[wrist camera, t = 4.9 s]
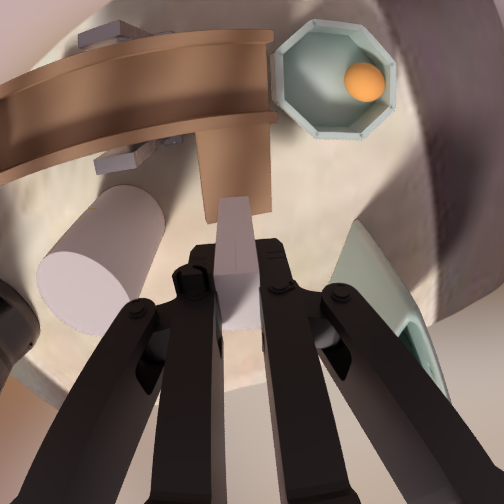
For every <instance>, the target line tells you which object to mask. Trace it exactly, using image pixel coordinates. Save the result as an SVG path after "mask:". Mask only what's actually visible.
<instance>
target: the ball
mask: <svg viewBox="0 0 504 504" xmlns="http://www.w3.org/2000/svg"><path fill="white" fill-rule="evenodd" d="M344 85H345V88H346V90H347V91H348V93H349V94H350V95H351V96H352V97H354V98H355V99H357V100H359V101H363V102H371V101H374V100H376V99H378V98H379V97H380V96H381V95H382V94H383V92H384V89H385V79H384V77H383V75H382V73H381V72H380V70H379V69H378V68H376V67H375V66H373V65H371V64H369V63H356V64H353V65H352V66H350V67H349V68H348V69H347V71H346V73H345V75H344Z"/></svg>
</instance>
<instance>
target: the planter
mask: <svg viewBox="0 0 504 504" xmlns="http://www.w3.org/2000/svg"><path fill="white" fill-rule="evenodd" d="M331 283H346V284H348V285H351V286H353V287H354V288H355V289H357V290H358V292H359V293H360V294H361V295H362V296H363V297H364V298H365V299H366V301H367V302H368V303H369V304H370V305H371V306H372V307H373V309H374V310H375V311H376V312H377V313H378V314H379V315H380V317H381V318H382V319H383V320H384V321H385V322H386V324H387V325H388V326H389V327H390V328H391V330H392V331H393V332H394V333H395V334H396V335H397V337H398V338H399V339H400V340H401V341H402V343H403V344H404V345H405V346H406V347H407V349H408V350H409V351H410V352H411V354H412V355H413V356H414V357H415V358H416V360H417V361H418V362H419V363H420V365H421V366H422V367H423V368H424V370H425V371H426V372H427V373H428V375H429V376H430V377H431V378H432V380H433V381H434V382H435V384H436V385H437V386H438V387H439V389H440V390H441V391H442V393H443V394H444V395H445V397H446V398H447V399H448V400H449V402H450V403H451V399H450V397H449V393H448V389H447V386H446V383H445V380H444V376H443V373H442V370H441V367H440V364H439V361H438V358H437V355H436V352H435V349H434V346H433V343H432V340H431V338H430V335H429V333H428V330H427V327H426V325H425V322H424V320H423V317H422V314H421V312H420V310H419V308H418V306H417V304H416V302H415V301H414V299H413V297H412V296H411V294H410V292H409V291H408V289H407V288H406V286H405V285H404V283H403V282H402V280H401V278H400V277H399V275H398V274H397V272H396V271H395V269H394V268H393V266H392V265H391V263H390V262H389V261H388V259H387V258H386V256H385V255H384V253H383V252H382V250H381V249H380V248H379V246H378V245H377V243H376V242H375V241H374V239H373V238H372V236H371V235H370V234H369V232H368V231H367V230H366V228H365V227H364V226H363V224H362V223H361V222H360V220H358V219H356V220H355V221H354V222H353V224H352V226H351V229H350V231H349V234H348V237H347V240H346V242H345V245H344V248H343V250H342V253H341V255H340V258H339V260H338V263H337V265H336V267H335V270H334V272H333V275H332V277H331V280H330V282H329V284H331ZM451 404H452V403H451Z"/></svg>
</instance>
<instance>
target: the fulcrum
mask: <svg viewBox="0 0 504 504" xmlns="http://www.w3.org/2000/svg"><path fill="white" fill-rule="evenodd" d="M166 34H173V32H172V31H168V32H162V33H157V34H153V35H151V34H149V33H147V32H145V31H143V30H141V29H139V28H137V27H134V26H132V25H130V24H128V23H125V22H123V21H121V20H118V21H114V22H111V23H108V24H105V25H102V26H99V27H96V28H93V29H90V30H88V31H85V32H82V33H80V34H78V48H80V49H89V50H93V49H96V48H100V47H104V46H108V45H112V44H117V43H121V42H126V41H130V40H135V39H141V38H146V37H152V36H159V35H166ZM182 142H183V140H182V134H181V135H176V136H170V137H165V138H159V139H154V140H149V141H145V142H140V143H135V144H131V145H126V146H122V147H118V148H114V149H110V150H108V151H107V152H105V153H104V154H102V155H101V156H99V157H98V158H96V159H95V160H94V165H95V170H96V174H97V175H100V174H105V173H111V172H117V171H123V170H129V169H135V168H137V167H138V166H139V165H140V164H141V163H142V162H143V161H145V160H146V159H147V158H148V157H149V156H150V155H151V154H152V153H153V152H154V151H155V150H157V149H158V148H159V147H160V146H161V145H167V144H175V143H182Z"/></svg>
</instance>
